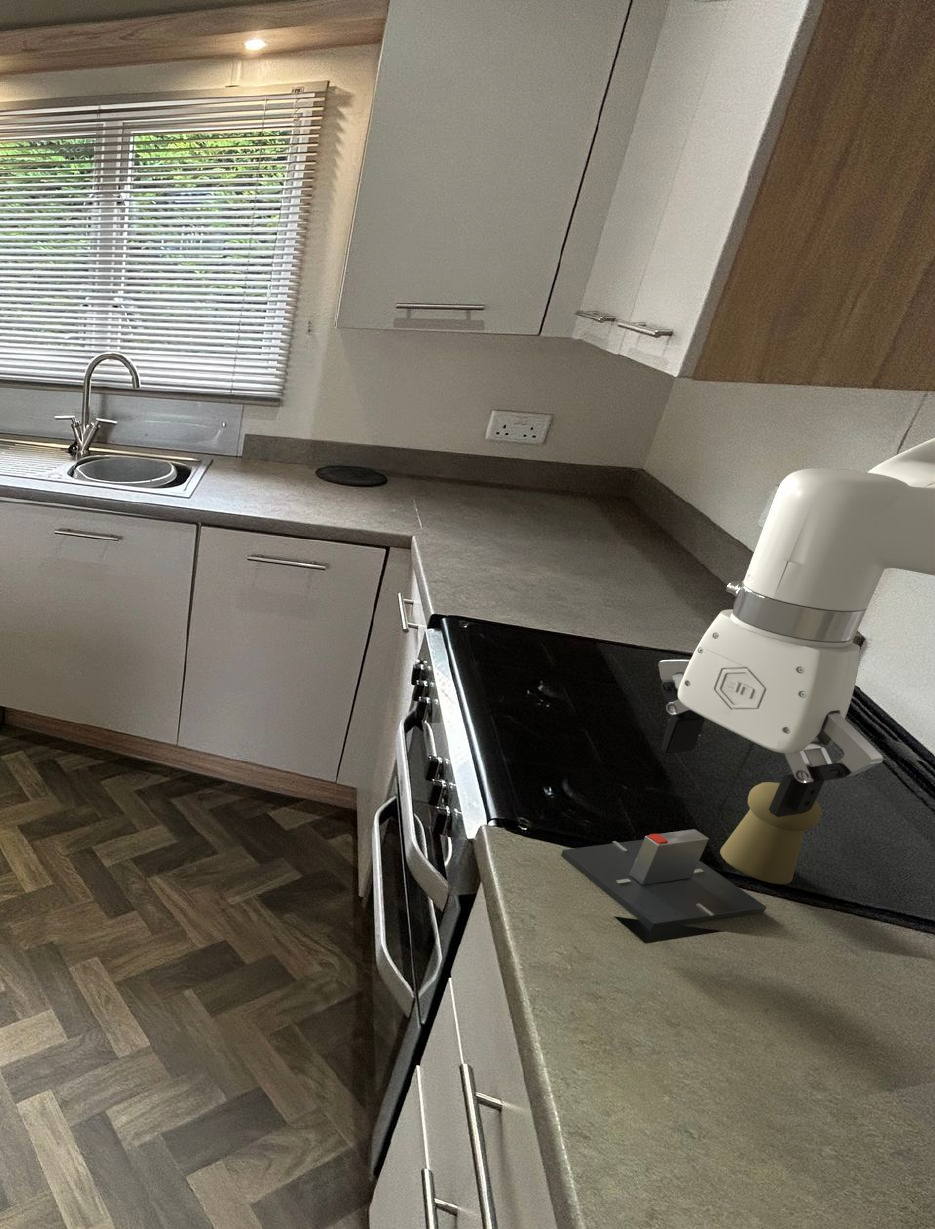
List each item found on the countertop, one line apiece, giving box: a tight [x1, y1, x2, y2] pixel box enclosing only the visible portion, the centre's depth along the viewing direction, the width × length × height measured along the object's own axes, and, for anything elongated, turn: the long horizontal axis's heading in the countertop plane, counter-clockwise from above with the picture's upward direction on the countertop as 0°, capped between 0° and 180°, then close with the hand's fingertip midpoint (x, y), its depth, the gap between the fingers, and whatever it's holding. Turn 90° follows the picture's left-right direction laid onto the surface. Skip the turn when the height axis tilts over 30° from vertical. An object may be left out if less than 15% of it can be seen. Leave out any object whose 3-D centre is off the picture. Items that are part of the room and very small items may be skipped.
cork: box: [719, 781, 822, 885], centre depth 78 cm, size 6×6×11 cm
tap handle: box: [630, 829, 710, 885], centre depth 75 cm, size 6×1×5 cm, turn 100°
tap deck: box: [560, 839, 767, 944], centre depth 76 cm, size 13×10×3 cm
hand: (727, 780), depth 71 cm, fingers open, 9 cm apart
